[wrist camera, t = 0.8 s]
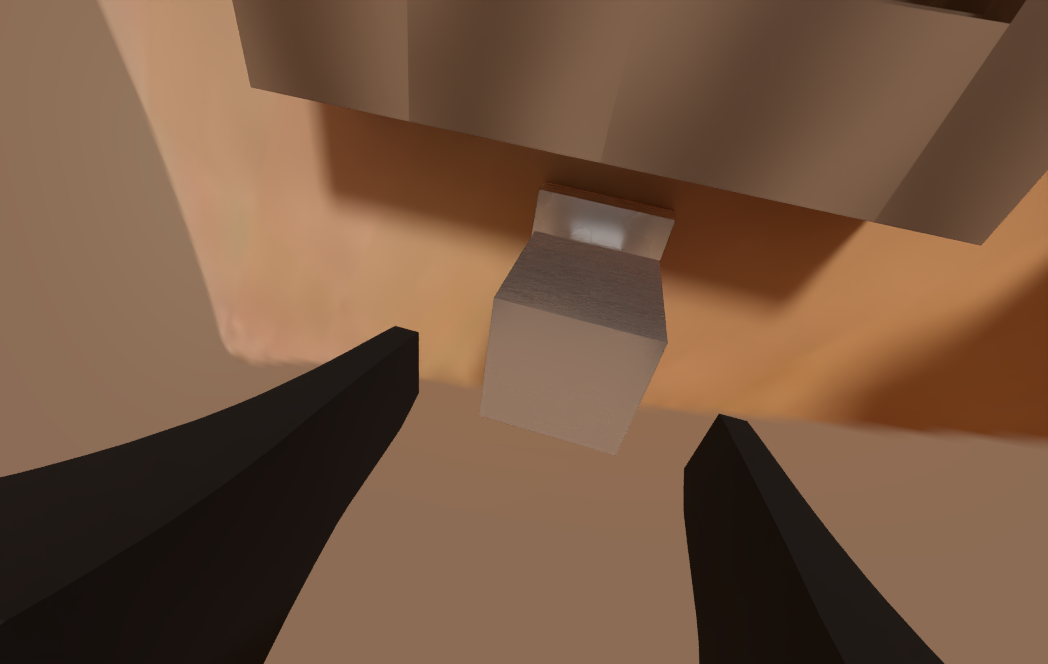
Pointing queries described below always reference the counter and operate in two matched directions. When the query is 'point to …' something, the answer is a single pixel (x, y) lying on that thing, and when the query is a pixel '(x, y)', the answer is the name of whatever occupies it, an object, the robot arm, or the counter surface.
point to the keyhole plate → (705, 90)
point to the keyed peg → (579, 319)
